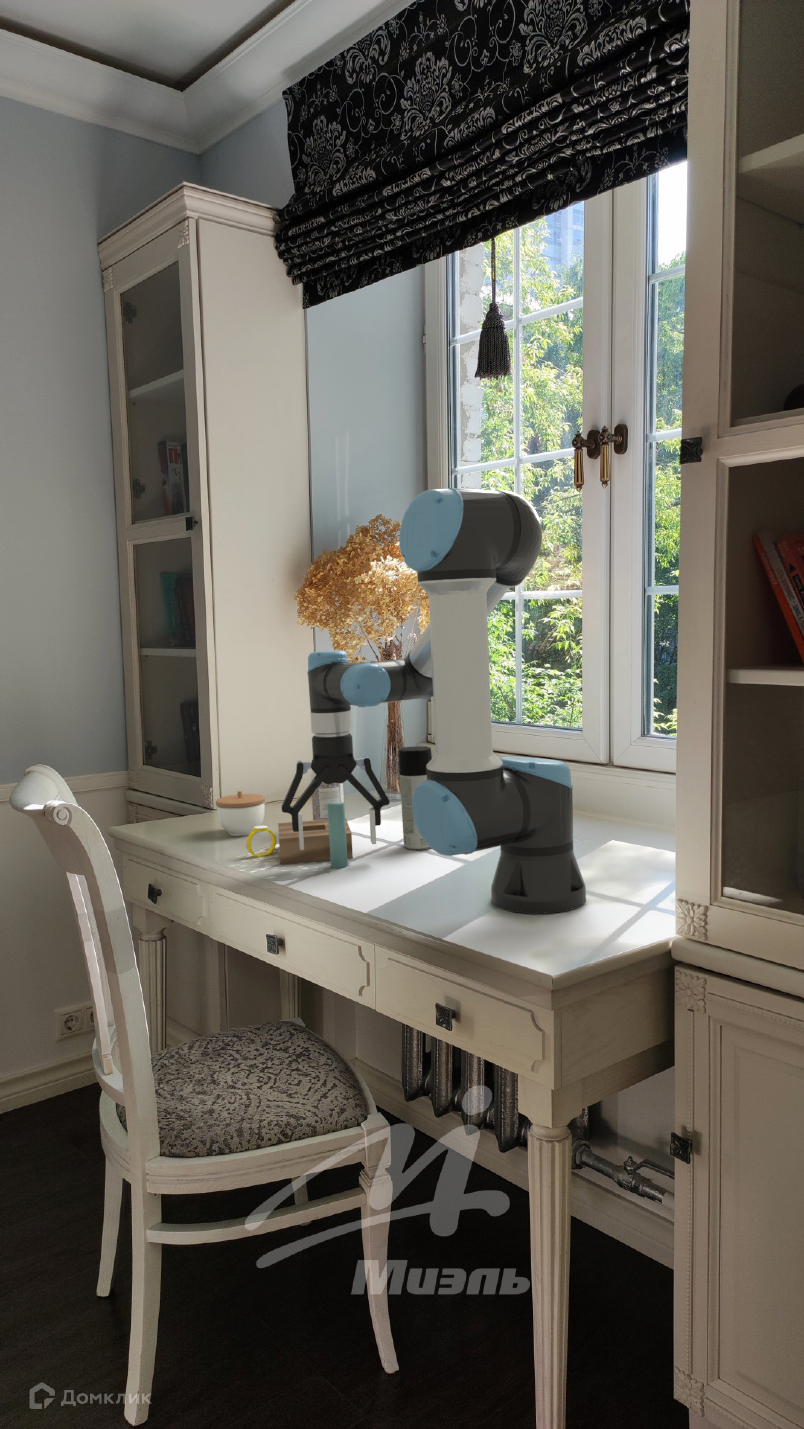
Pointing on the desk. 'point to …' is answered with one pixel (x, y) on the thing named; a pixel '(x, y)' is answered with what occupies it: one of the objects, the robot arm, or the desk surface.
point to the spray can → (412, 791)
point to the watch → (256, 829)
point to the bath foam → (325, 798)
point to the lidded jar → (240, 812)
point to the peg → (337, 834)
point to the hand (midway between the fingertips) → (337, 845)
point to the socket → (308, 842)
